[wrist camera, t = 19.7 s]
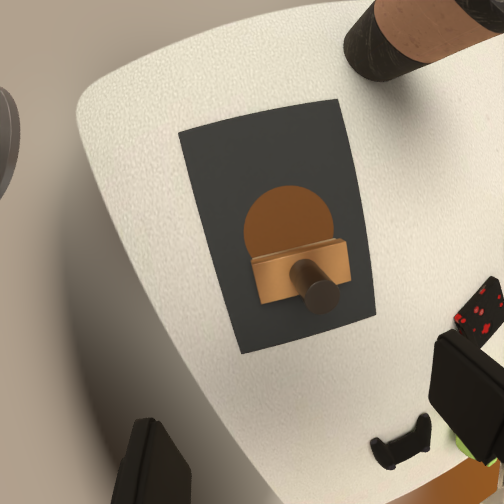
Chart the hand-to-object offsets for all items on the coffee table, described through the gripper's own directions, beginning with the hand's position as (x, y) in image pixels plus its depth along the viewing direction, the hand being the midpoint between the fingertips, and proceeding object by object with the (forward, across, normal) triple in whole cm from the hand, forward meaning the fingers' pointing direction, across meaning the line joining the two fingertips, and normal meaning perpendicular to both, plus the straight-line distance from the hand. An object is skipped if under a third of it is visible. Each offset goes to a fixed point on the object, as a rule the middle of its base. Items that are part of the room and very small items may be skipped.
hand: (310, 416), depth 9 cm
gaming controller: (+22, -17, +37) cm, 47 cm away
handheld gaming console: (+22, -30, +19) cm, 42 cm away
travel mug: (+23, -18, -18) cm, 34 cm away
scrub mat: (+23, -4, 0) cm, 23 cm away
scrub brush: (+22, -4, +3) cm, 23 cm away
